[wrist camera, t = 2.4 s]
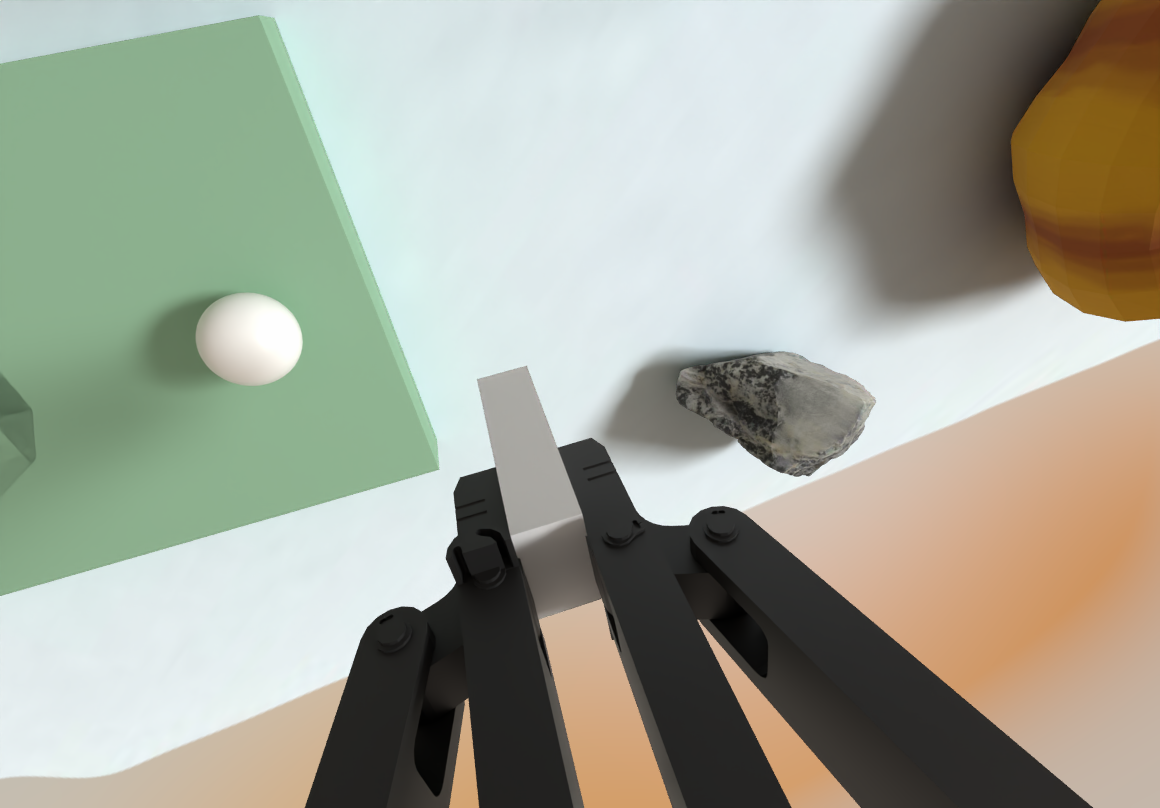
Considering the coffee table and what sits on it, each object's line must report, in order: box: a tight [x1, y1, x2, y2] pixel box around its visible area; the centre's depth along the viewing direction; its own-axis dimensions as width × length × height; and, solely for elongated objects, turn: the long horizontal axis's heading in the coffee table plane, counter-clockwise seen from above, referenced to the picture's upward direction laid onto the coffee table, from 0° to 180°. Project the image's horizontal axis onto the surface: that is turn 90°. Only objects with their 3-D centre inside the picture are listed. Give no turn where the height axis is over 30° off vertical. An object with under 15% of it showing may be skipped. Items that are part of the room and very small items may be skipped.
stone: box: [676, 352, 876, 477], centre depth 37 cm, size 10×10×10 cm
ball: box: [196, 292, 303, 386], centre depth 25 cm, size 4×4×4 cm
